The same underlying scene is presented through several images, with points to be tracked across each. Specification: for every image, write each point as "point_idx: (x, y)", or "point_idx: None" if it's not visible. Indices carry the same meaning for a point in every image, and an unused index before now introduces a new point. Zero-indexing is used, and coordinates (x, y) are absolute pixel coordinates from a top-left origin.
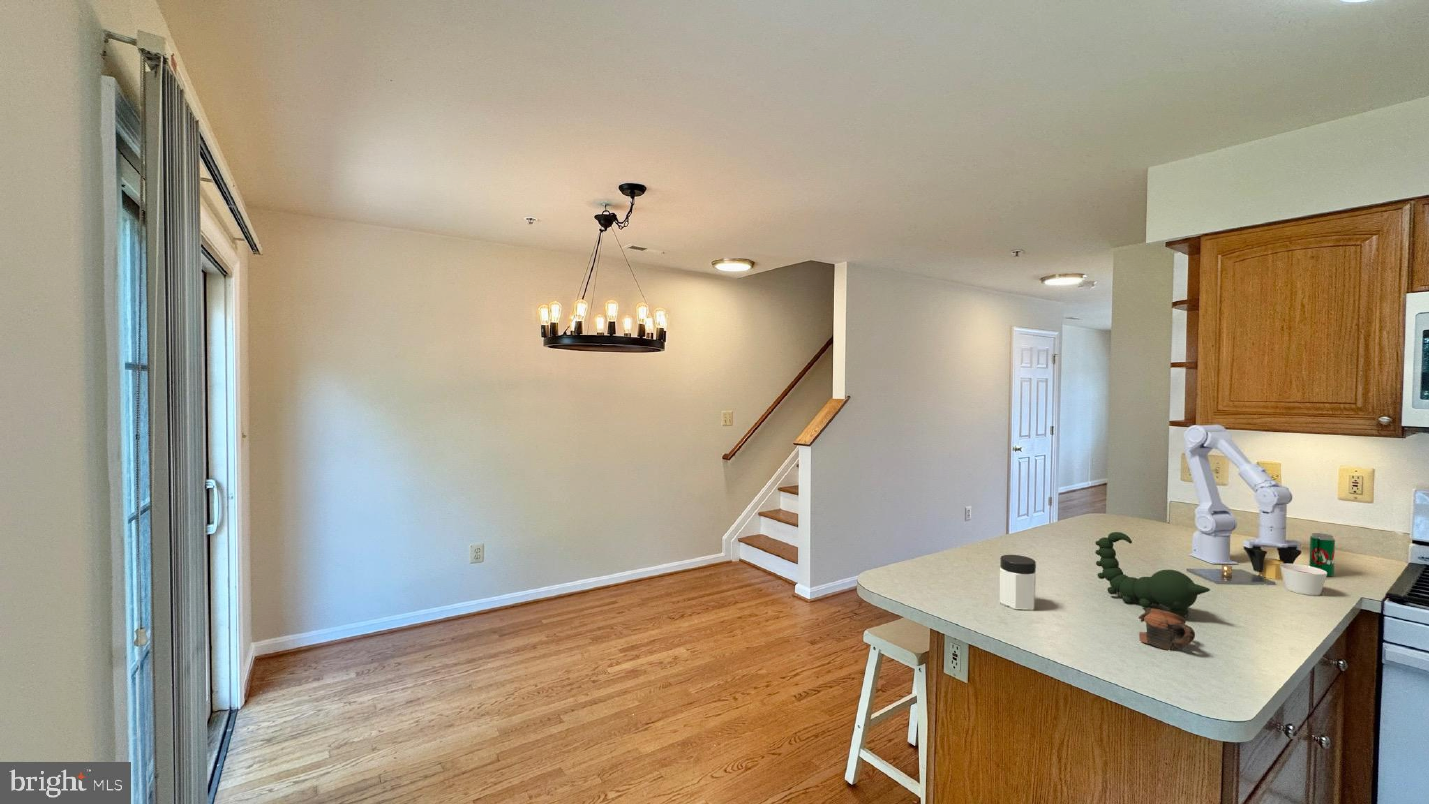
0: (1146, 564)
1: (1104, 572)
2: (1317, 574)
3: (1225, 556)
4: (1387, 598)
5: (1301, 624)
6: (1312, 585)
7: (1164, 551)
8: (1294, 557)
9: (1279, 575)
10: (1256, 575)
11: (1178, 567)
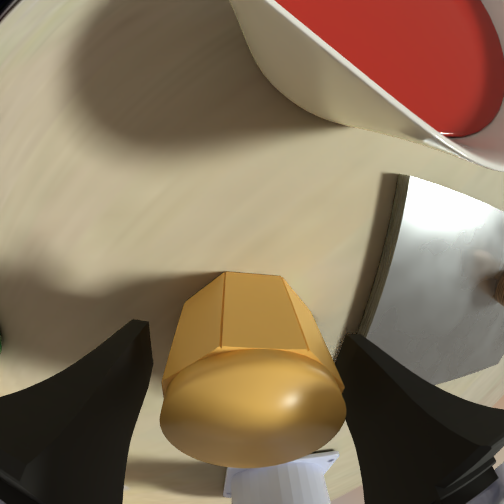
0: (495, 390)
1: None
2: None
3: (284, 484)
4: (6, 10)
5: None
6: None
7: (334, 493)
8: (45, 401)
9: (252, 289)
10: (381, 314)
11: (471, 390)
